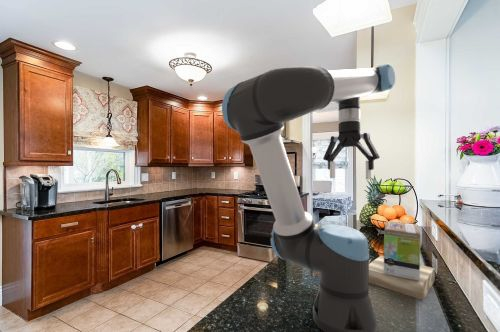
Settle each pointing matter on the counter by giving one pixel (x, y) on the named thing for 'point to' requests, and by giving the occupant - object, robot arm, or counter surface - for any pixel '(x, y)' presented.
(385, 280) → the birch base block
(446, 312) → the counter surface
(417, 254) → the tea box
